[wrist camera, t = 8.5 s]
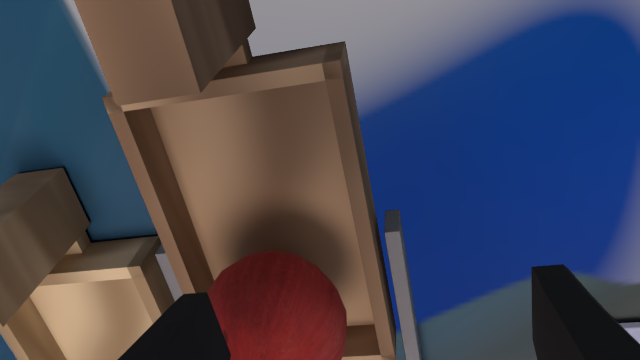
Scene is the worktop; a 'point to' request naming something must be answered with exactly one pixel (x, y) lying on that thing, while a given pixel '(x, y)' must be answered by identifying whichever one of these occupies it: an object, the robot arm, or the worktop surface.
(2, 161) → the worktop surface
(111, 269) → the oak tray
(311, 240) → the walnut tray
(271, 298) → the onion
